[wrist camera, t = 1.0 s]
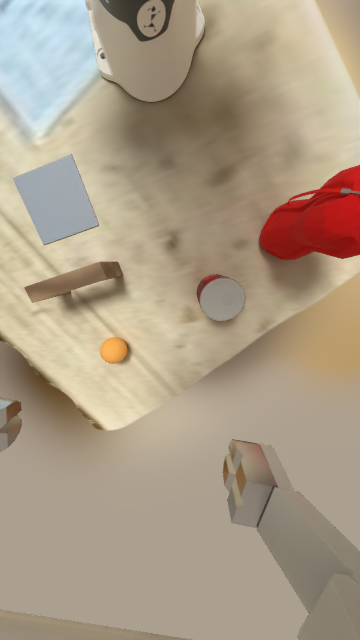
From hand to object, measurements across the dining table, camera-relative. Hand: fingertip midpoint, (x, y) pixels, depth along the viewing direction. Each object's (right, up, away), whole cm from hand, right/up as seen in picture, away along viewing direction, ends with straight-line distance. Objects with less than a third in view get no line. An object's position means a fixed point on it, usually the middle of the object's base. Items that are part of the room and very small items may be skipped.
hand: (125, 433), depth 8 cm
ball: (-13, -3, +39) cm, 41 cm away
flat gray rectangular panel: (-23, +28, +33) cm, 49 cm away
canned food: (+10, +11, +38) cm, 40 cm away
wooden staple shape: (-18, +14, +37) cm, 44 cm away
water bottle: (+23, +23, +34) cm, 47 cm away
